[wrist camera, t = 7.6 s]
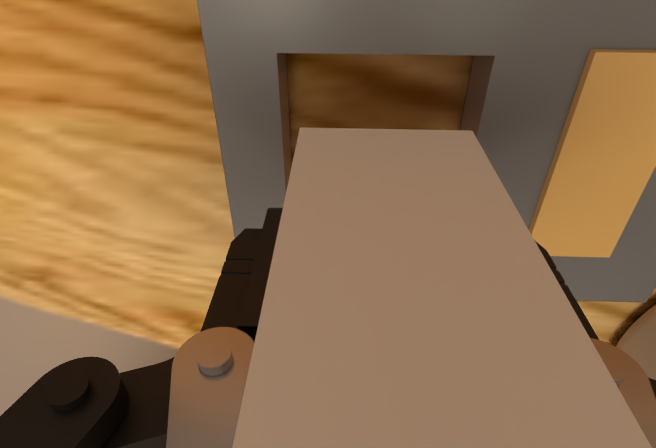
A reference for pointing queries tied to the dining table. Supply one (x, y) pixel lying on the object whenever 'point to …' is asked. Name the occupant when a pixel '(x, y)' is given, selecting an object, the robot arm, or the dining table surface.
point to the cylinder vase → (642, 342)
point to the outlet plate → (475, 111)
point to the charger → (417, 310)
